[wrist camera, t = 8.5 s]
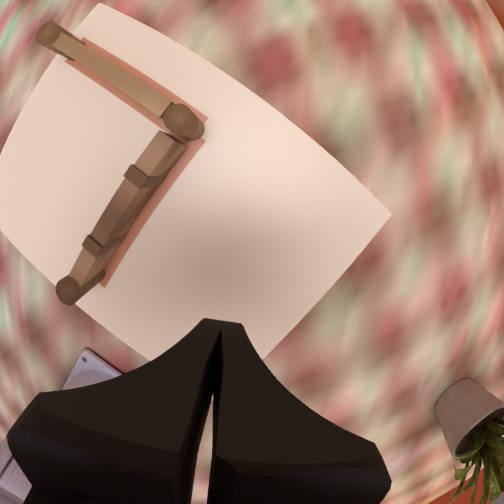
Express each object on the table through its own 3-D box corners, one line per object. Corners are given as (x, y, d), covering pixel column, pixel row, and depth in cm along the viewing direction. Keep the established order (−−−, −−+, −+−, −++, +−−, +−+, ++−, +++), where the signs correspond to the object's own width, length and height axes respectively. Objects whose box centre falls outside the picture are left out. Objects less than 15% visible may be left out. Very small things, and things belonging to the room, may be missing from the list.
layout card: (217, 400, 22) (216, 403, 22) (-17, 206, 18) (-20, 207, 18) (390, 213, 19) (392, 214, 18) (100, 4, 14) (99, 2, 14)
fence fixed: (193, 146, 17) (178, 139, 13) (63, 56, 15) (31, 39, 11) (210, 125, 17) (199, 112, 13) (77, 38, 15) (47, 18, 11)
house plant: (366, 457, 25) (407, 580, 9) (411, 354, 22) (516, 502, 6) (463, 434, 26) (517, 521, 10) (511, 341, 22) (602, 424, 6)
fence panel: (171, 134, 17) (151, 125, 13) (192, 149, 17) (176, 143, 13) (82, 272, 19) (52, 293, 15) (98, 286, 19) (71, 310, 15)
